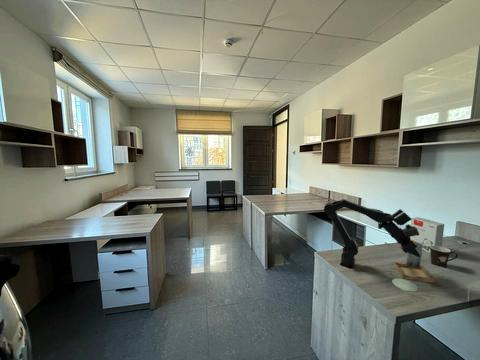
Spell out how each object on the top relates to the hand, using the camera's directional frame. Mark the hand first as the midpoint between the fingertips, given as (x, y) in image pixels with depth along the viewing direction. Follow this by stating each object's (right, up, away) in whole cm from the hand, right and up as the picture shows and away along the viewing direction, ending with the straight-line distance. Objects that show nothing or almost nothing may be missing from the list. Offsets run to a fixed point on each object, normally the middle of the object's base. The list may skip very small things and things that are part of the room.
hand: (417, 254), depth 107 cm
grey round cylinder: (-1, -6, +1) cm, 7 cm away
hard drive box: (+34, -9, +34) cm, 49 cm away
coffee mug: (+25, -12, +13) cm, 31 cm away
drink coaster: (-10, -14, -4) cm, 18 cm away
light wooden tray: (+2, -13, +5) cm, 14 cm away
